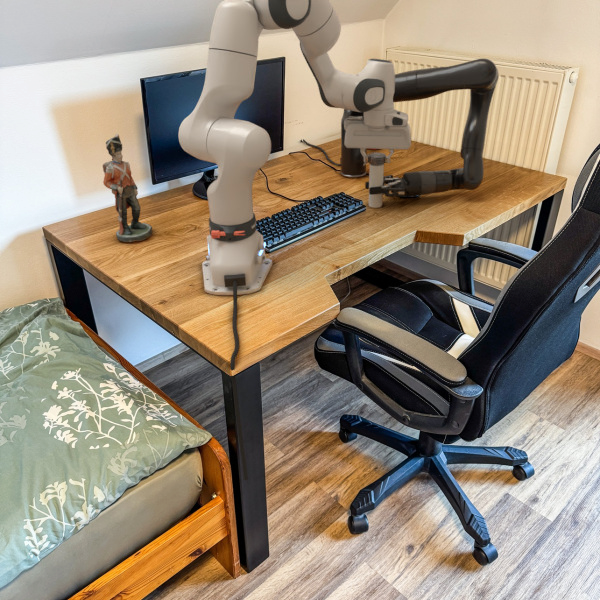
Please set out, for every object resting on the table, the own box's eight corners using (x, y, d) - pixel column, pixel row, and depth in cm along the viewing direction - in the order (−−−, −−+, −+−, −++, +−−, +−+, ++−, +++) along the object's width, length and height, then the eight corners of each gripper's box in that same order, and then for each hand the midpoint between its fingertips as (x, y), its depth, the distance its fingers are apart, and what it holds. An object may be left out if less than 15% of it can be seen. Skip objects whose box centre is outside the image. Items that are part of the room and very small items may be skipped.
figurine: (143, 244, 164) (122, 142, 148) (110, 242, 166) (86, 141, 150) (158, 228, 173) (139, 130, 157) (126, 227, 175) (105, 130, 159)
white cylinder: (368, 207, 181) (369, 159, 173) (368, 202, 185) (370, 155, 176) (382, 207, 180) (384, 159, 172) (382, 202, 184) (384, 155, 176)
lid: (381, 166, 172) (382, 158, 171) (365, 163, 174) (365, 156, 173) (388, 160, 176) (388, 153, 175) (372, 158, 178) (372, 151, 177)
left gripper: (342, 118, 167) (342, 164, 174) (412, 120, 163) (409, 166, 170) (345, 113, 172) (345, 157, 180) (413, 114, 168) (410, 159, 175)
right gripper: (412, 165, 185) (362, 169, 183) (427, 179, 173) (373, 184, 171) (411, 186, 189) (361, 191, 187) (425, 202, 177) (373, 207, 175)
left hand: (376, 162), depth 175 cm, fingers closed on lid, 5 cm apart
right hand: (367, 188), depth 179 cm, fingers closed on white cylinder, 4 cm apart
